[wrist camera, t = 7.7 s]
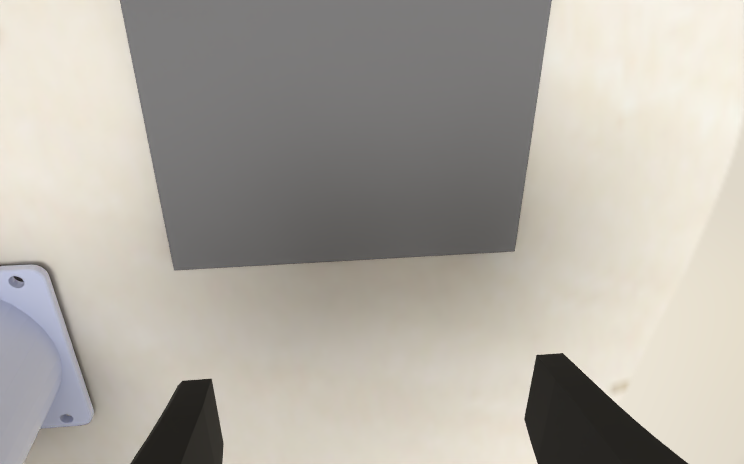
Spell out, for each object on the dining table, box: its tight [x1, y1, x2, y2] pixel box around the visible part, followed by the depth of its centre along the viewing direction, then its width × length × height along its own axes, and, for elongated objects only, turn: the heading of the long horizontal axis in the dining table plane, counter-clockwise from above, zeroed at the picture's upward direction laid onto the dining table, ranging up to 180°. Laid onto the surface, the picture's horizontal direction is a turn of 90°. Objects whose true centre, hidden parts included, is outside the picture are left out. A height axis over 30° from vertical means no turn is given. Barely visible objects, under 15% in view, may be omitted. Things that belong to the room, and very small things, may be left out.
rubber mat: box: [120, 0, 552, 270], centre depth 20 cm, size 13×13×1 cm
